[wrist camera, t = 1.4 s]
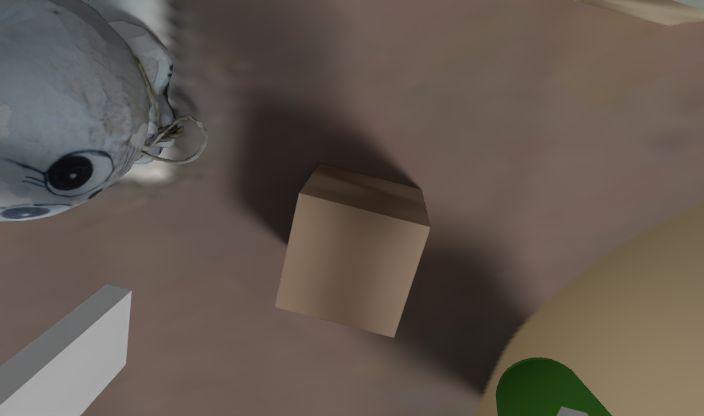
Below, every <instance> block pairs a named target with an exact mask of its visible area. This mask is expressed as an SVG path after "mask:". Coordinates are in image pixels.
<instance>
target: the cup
mask: <svg viewBox="0 0 704 416" xmlns="http://www.w3.org/2000/svg"><path fill="white" fill-rule="evenodd" d="M496 401H497V411H498V416H557V414H558V412H559V410H560V408H561V406H562V407H566V408H569V409H573V410H577V411H581V412H584V413H587V414H588V416H612V415H611V414H610V413H609V412H608V411H607V410H606V408H605V407H604V406H603V405H602V404H601V403H600V402H599V401H598V399H597V398H596V397H595V396H594V395H593V394H592V393H591V391H590V390H589V389H588V388H587V387H586V386H585V385H584V384H583V383H582V381H581V380H580V379H579V378H578V377H577V376H576V375H575V373H574V372H573V371H572V370H571V369H569V368H568V367H566V366H565V365H563V364H561V363H559V362H557V361H554V360H552V359H548V358H529V359H525V360H522V361H519V362H517V363H515V364H513V365H512V366H511V367H509V368H508V369H507V370H506V371H505V372H504V373H503V375H502V376H501V378H500V381H499V384H498V386H497V391H496Z"/></svg>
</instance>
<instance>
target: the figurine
mask: <svg viewBox="0 0 704 416" xmlns="http://www.w3.org/2000/svg"><path fill="white" fill-rule="evenodd" d="M172 68H173V65H172V61H171V58H170V56H169V53H168V51H167V50H166V49H165V47H164V46H163V45H161V44H160V43H159V42H158V41H157V40H156V39H155V38H154V37H153V35H152V34H151V33H150V32H149V31H148V30H147V29H145V28H143V27H140V26H136V25H133V24H130V23H127V22H125V21H117V22H106V20H105V19H104V18H103V17H102V16H101V15H100V14H99V13H98V12H97V11H96V10H95V9H94V8H93V7H91V6H90V5H88V4H86V3H85V2H83V1H82V0H0V221H25V220H31V219H37V218H43V217H48V216H52V215H56V214H58V213H61V212H63V211H66V210H68V209H71V208H73V207H75V206H77V205H79V204H81V203H83V202H86V201H88V200H90V199H91V198H93V197H94V196H96V195H98V194H99V193H101V192H103V191H104V190H106V189H108V188H109V187H110V186H112V185H113V184H114V183H115V182H116V181H117V180H118V179H119V178H121V177H122V176H123V175H124V174H125V173H127V172H128V171H129V170H130V168H131V167H132V165H133V164H147V163H149V162H152V161H153V160H158V161H164V162H167V163H171V164H184V163H188V162H191V161H193V160H195V159H196V158H197V157H199V156H200V154H201V153H202V151H203V150H204V148H205V147H206V145H207V142H208V131H207V130H206V129H205V128H204V127H203V126H202V123H201V122H200V121H198V120H196V119H194V118H193V117H191V116H189V115H186V116H183V117H179V118H177V119H176V117H175V115H174V113H173V111H172V109H171V106H170V104H169V102H168V90H169V81H170V78H171V76H172ZM183 120H192V121H194V122H195V123H196V124H197V125H198V126H199V127H200V128H201V130H202V134H203V142H202V146H201V147H200V149H199V150H198V152H197V153H195V154H194V155H193V156H192V157H187V158H186V159H185V160H184V161H174V160H169V159H163V158H160V157H157V156H158V155H159V154H160V153H161V151H162V150H163V148H164V147H166V148H170V147H171V146H172V145H173V144H174V143H175V140H176V138H179V137H181V136H182V135H183V134H184V133H185V132H184V126H181V127H179V128H178V126H177V123H178V122H180V121H183Z"/></svg>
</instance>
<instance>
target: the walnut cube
mask: <svg viewBox="0 0 704 416" xmlns="http://www.w3.org/2000/svg"><path fill="white" fill-rule="evenodd" d="M430 228H431V227H430V223H429V218H428V214H427V210H426V206H425V202H424V197H423V193H422V189H418V188H414V187H410V186H406V185H402V184H399V183H395V182H391V181H387V180H383V179H379V178H376V177H372V176H368V175H364V174H360V173H356V172H353V171H349V170H345V169H341V168H337V167H333V166H330V165H326V164H322V163H319V165H318V166H317V168H316V169H315V170H314V172H313V173H312V175H311V176H310V178H309V179H308V181H307V182H306V184H305V185H304V187H303V188H302V189H301V191H300V192H299V196H298V200H297V205H296V210H295V214H294V219H293V224H292V228H291V233H290V238H289V242H288V247H287V252H286V256H285V261H284V266H283V270H282V275H281V280H280V284H279V289H278V294H277V298H276V303H275V307H277V308H281V309H285V310H289V311H293V312H296V313H300V314H304V315H308V316H312V317H316V318H319V319H323V320H327V321H331V322H335V323H339V324H343V325H346V326H350V327H354V328H358V329H362V330H366V331H369V332H373V333H377V334H381V335H385V336H389V337H392V338H394V336H395V333H396V330H397V327H398V324H399V321H400V318H401V315H402V312H403V309H404V306H405V303H406V300H407V297H408V294H409V291H410V288H411V285H412V282H413V279H414V276H415V273H416V270H417V267H418V264H419V261H420V258H421V255H422V252H423V249H424V246H425V243H426V240H427V237H428V234H429V231H430Z"/></svg>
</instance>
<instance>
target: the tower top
mask: <svg viewBox="0 0 704 416" xmlns="http://www.w3.org/2000/svg"><path fill="white" fill-rule="evenodd" d="M673 1H676V2H679V3H683V4H686V5H689V6H692V7H695V8H699V9H700V8H704V0H673Z"/></svg>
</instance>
